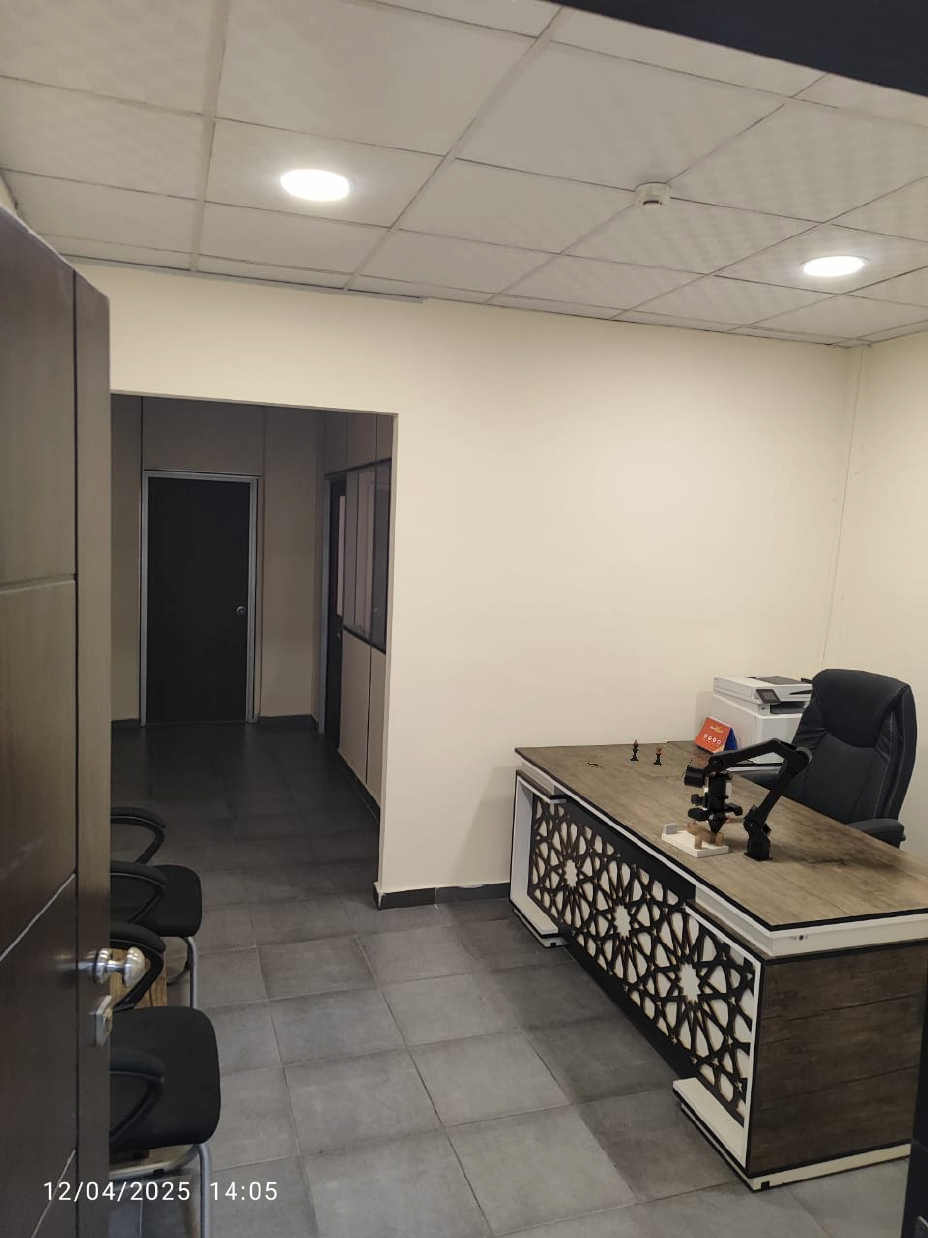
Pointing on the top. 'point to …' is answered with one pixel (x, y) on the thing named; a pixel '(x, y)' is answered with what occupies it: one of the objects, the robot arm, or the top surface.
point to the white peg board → (693, 842)
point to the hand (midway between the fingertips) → (713, 837)
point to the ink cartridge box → (729, 793)
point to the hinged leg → (701, 832)
